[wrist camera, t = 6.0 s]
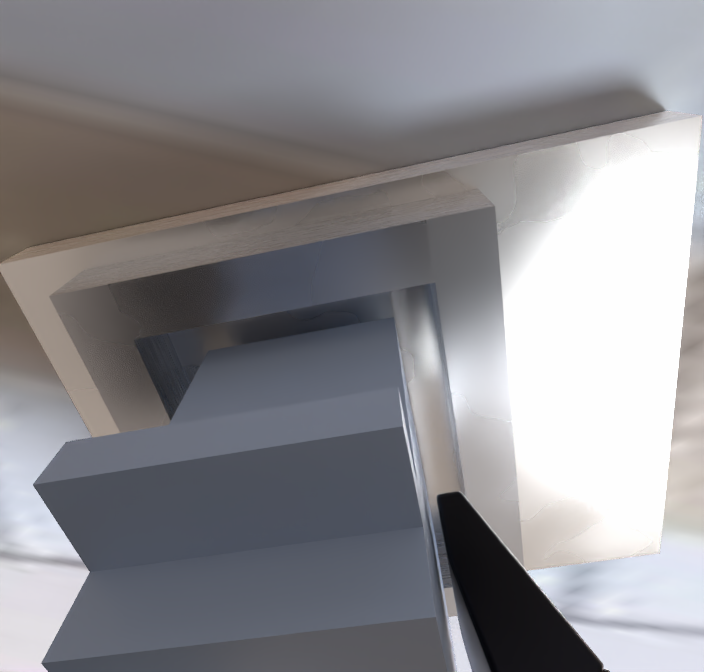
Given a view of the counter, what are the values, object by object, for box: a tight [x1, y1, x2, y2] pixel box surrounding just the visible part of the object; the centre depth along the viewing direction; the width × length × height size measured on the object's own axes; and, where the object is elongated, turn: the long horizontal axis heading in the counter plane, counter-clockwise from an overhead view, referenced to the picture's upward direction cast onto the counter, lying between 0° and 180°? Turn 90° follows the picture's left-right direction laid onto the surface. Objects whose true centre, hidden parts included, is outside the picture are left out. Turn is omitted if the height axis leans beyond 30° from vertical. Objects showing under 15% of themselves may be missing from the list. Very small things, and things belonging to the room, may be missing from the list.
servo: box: [33, 317, 457, 672], centre depth 8 cm, size 8×3×6 cm, turn 12°
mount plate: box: [0, 111, 703, 617], centre depth 11 cm, size 12×10×2 cm
